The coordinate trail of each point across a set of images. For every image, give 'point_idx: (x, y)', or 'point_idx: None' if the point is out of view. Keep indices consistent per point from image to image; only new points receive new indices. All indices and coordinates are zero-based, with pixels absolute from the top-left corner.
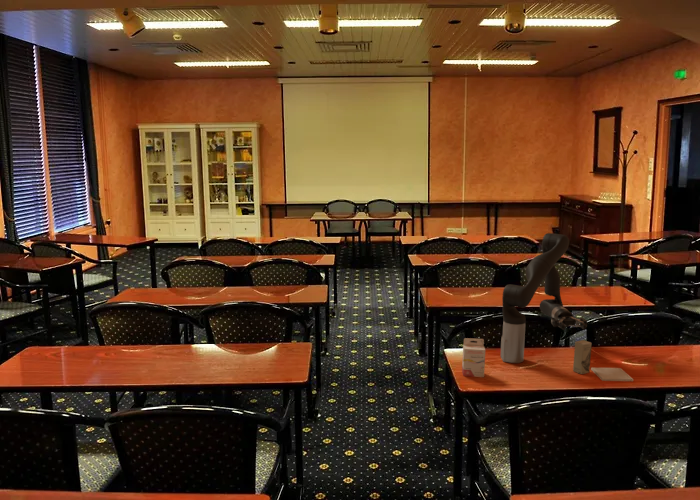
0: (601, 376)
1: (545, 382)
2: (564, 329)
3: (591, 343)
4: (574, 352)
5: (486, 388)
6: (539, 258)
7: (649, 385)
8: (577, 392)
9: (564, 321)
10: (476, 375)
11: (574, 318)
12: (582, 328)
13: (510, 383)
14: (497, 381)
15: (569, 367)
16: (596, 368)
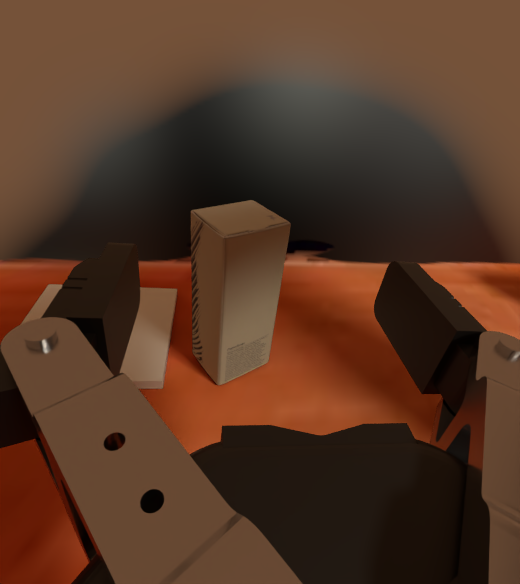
0: (168, 302)
1: (377, 288)
2: (377, 309)
3: (192, 212)
4: (280, 281)
5: (517, 267)
6: None
7: (18, 269)
8: (288, 248)
9: (440, 453)
10: None
11: (137, 512)
12: (132, 322)
13: (475, 285)
14: (517, 294)
15: (274, 408)
16: (138, 371)
